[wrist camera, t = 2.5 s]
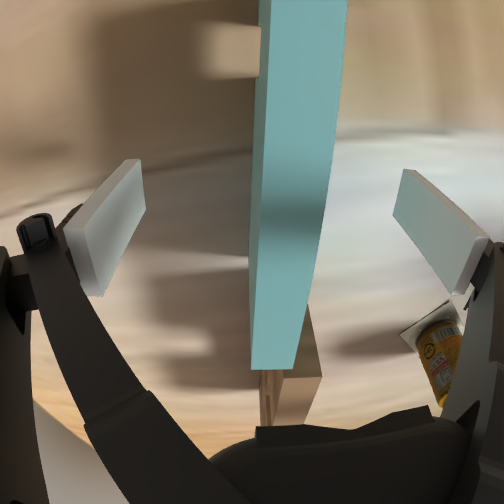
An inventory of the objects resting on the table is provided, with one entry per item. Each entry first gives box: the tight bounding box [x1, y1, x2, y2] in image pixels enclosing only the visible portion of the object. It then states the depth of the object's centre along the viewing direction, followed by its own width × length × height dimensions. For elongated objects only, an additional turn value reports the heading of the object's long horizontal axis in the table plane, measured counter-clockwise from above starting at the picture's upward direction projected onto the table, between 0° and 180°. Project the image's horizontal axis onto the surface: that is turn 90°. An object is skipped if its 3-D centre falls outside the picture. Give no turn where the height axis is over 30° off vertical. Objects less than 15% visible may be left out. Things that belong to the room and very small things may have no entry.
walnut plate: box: [259, 303, 322, 426], centre depth 28 cm, size 20×2×11 cm, turn 178°
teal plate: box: [248, 0, 347, 370], centre depth 16 cm, size 20×2×11 cm, turn 178°
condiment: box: [400, 301, 465, 408], centre depth 29 cm, size 7×8×12 cm
